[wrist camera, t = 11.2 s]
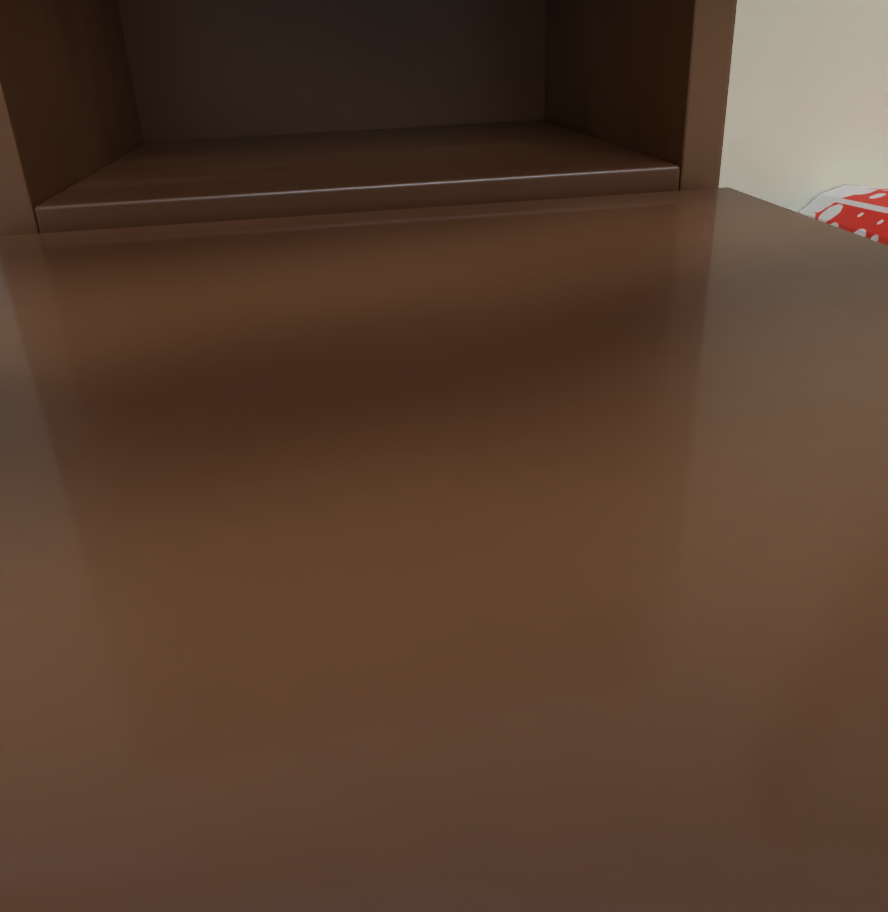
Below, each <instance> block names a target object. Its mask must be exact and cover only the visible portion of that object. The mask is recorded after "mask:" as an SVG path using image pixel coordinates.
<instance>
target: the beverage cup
mask: <svg viewBox="0 0 888 912" xmlns="http://www.w3.org/2000/svg"><path fill="white" fill-rule="evenodd" d="M799 213H800V214H802V215H805V216H808V217H811V218H813V219H816V220H819V221H822V222H824V223H827V224H830V225H832V226H835V227H838V228H841V229H843V230H846V231H849V232H852V233H854V234H857V235H860V236H863V237H865V238H868V239H871V240H874V241H876V242H879V243H882V244H885V245H887V246H888V189H886V188H880V187H873V186H860V185H843V186H841V187H838V188H835V189H832V190H830V191H827V192H824V193H822V194H820V195H819V196H817V197H816V198H815V199H814V200H813V201H811V202H810V203H809V204H808V205H807V206H806V207H804V208H803V209H802V210H801V211H800V212H799Z"/></svg>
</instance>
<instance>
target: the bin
mask: <svg viewBox="0 0 888 912" xmlns="http://www.w3.org/2000/svg"><path fill="white" fill-rule="evenodd" d="M736 4H737V0H0V236H10V235H25V234H40V233H55V232H70V231H85V230H100V229H115V228H130V227H145V226H160V225H175V224H190V223H205V222H220V221H235V220H250V219H265V218H280V217H295V216H310V215H325V214H340V213H355V212H370V211H385V210H399V209H414V208H429V207H444V206H459V205H474V204H489V203H504V202H519V201H534V200H549V199H564V198H579V197H594V196H609V195H624V194H639V193H654V192H669V191H684V190H699V189H714V188H718V186H719V176H720V166H721V155H722V145H723V135H724V125H725V115H726V105H727V95H728V85H729V75H730V64H731V54H732V44H733V34H734V24H735V14H736Z"/></svg>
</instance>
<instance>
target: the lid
mask: <svg viewBox="0 0 888 912" xmlns="http://www.w3.org/2000/svg"><path fill="white" fill-rule="evenodd" d="M0 912H888V246H887V245H885V244H882V243H879V242H876V241H874V240H871V239H868V238H865V237H863V236H860V235H857V234H854V233H852V232H849V231H846V230H843V229H841V228H838V227H835V226H832V225H830V224H827V223H824V222H822V221H819V220H816V219H813V218H811V217H808V216H805V215H802V214H800V213H797V212H794V211H791V210H789V209H786V208H783V207H780V206H778V205H775V204H772V203H769V202H767V201H764V200H761V199H758V198H756V197H753V196H750V195H748V194H745V193H742V192H739V191H737V190H734V189H731V188H714V189H699V190H684V191H669V192H654V193H639V194H624V195H609V196H594V197H579V198H564V199H549V200H534V201H519V202H504V203H489V204H474V205H459V206H444V207H429V208H414V209H399V210H385V211H370V212H355V213H340V214H325V215H310V216H295V217H280V218H265V219H250V220H235V221H220V222H205V223H190V224H175V225H160V226H145V227H130V228H115V229H100V230H85V231H70V232H55V233H40V234H25V235H10V236H0Z"/></svg>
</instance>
